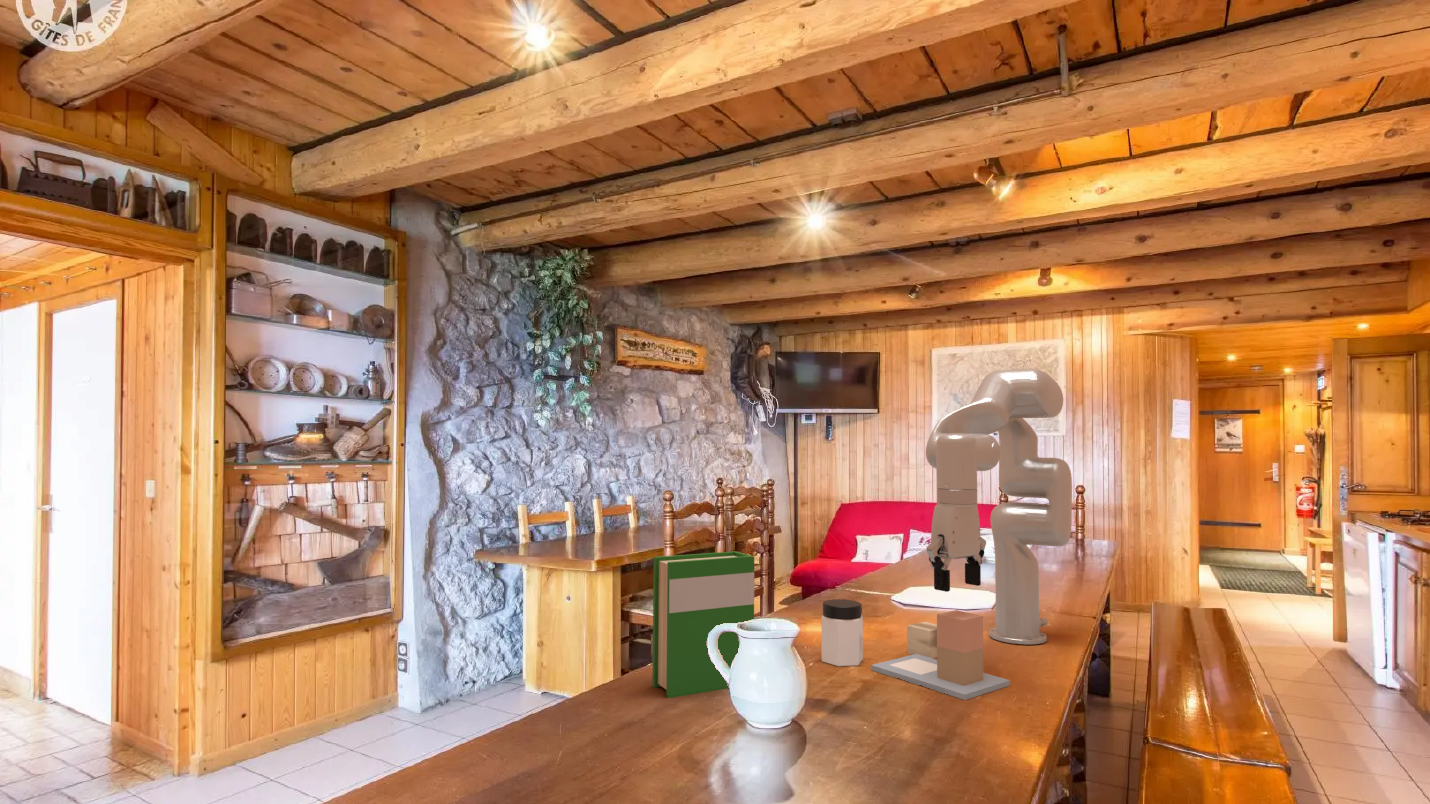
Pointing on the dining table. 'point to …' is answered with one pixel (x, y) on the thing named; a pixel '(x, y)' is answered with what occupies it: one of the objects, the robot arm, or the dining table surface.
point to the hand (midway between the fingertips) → (957, 587)
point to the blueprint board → (938, 682)
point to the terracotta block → (960, 631)
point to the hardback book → (697, 617)
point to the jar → (842, 632)
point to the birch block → (922, 639)
